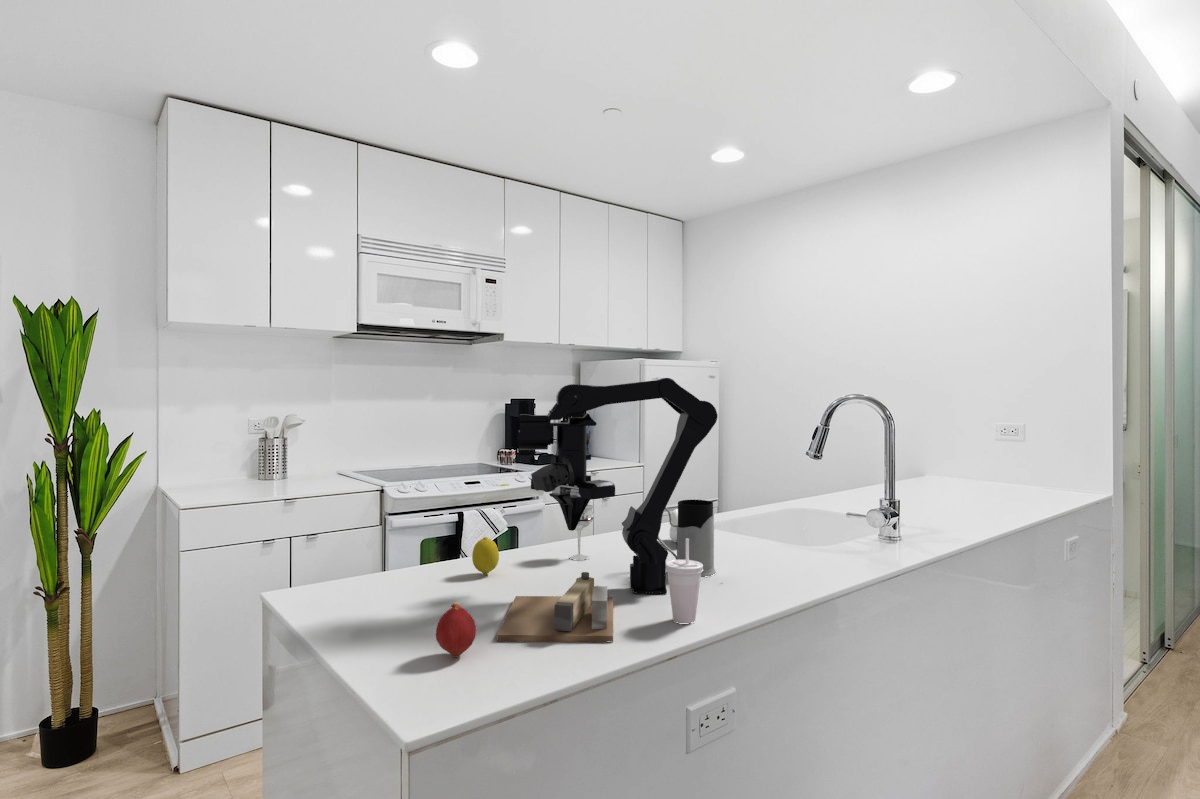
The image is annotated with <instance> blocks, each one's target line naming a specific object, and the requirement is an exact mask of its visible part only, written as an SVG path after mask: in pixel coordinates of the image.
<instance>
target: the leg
mask: <svg viewBox="0 0 1200 799" xmlns="http://www.w3.org/2000/svg"><path fill="white" fill-rule="evenodd" d="M575 580H576V581H575V582H574V583H573V584H572V585H571V586H570V587H569V588H568V590H567V591H566V592H565V593H564V594H563V595H562V597H561V598H560V599H559V601H558V602H557V603H556V604H555V630H559V631H571V630H572V629H573V628H574V626H575V625H576V624H577V622H578V621H579V619H580V618H581V617H582V615H583V614H584V613H585V611H586V610H587V609H588V607H589V606H590V604H592V594H593V586H595V578H594V577H592V576H589V579H588V580H583V579H581V577H577V578H576V579H575Z"/></svg>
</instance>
